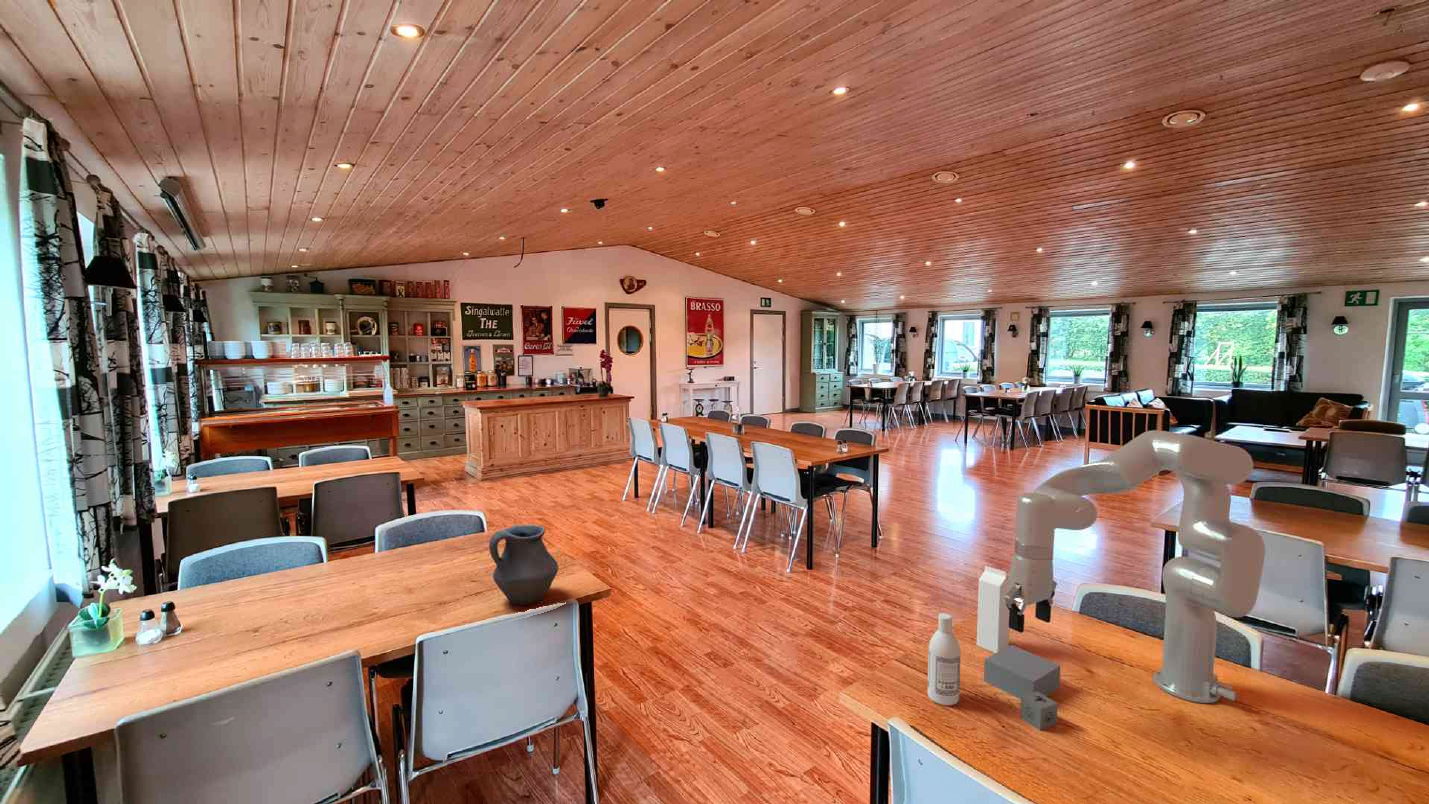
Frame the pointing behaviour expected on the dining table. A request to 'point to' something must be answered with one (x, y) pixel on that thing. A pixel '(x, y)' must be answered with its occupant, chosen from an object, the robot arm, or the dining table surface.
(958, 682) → the bath foam
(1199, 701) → the robot arm
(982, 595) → the milk
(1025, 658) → the grey block
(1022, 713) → the dice cube
